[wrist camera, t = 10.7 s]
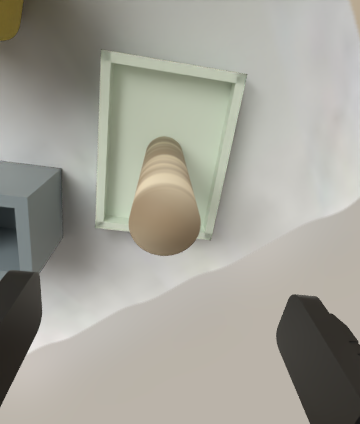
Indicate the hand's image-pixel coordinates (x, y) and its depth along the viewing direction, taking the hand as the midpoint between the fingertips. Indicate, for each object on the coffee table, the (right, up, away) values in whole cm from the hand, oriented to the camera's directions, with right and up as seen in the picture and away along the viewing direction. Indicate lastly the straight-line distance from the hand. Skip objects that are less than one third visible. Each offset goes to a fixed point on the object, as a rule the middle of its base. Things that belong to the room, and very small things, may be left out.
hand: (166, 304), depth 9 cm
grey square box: (-16, +4, +21) cm, 27 cm away
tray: (-1, +9, +20) cm, 22 cm away
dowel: (-1, +8, +19) cm, 21 cm away
